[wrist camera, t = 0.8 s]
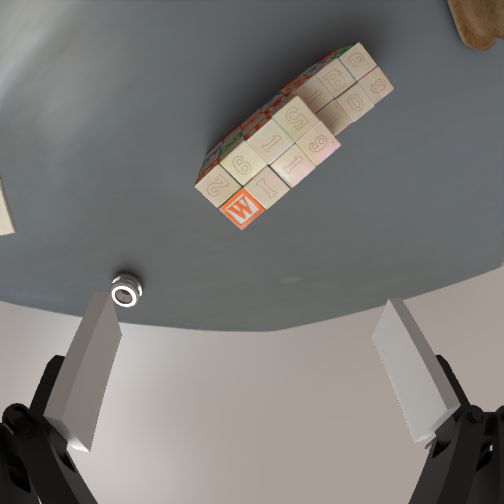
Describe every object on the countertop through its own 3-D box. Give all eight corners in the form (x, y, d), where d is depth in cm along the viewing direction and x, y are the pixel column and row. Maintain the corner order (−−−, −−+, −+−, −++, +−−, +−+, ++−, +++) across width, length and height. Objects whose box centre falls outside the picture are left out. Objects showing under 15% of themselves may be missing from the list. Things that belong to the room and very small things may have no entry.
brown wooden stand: (499, 51, 28) (566, 61, 15) (453, 49, 29) (527, 53, 16) (475, -28, 20) (537, -37, 7) (424, -39, 21) (488, -62, 8)
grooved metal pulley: (144, 298, 48) (141, 274, 45) (140, 310, 45) (137, 285, 43) (116, 295, 47) (112, 271, 45) (111, 307, 45) (106, 282, 42)
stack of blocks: (331, 49, 30) (373, 37, 20) (361, 87, 33) (411, 92, 22) (204, 156, 37) (192, 187, 26) (238, 189, 40) (241, 232, 29)
